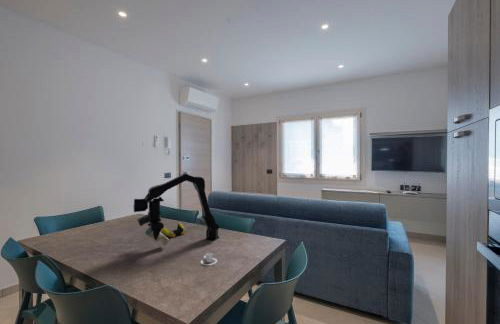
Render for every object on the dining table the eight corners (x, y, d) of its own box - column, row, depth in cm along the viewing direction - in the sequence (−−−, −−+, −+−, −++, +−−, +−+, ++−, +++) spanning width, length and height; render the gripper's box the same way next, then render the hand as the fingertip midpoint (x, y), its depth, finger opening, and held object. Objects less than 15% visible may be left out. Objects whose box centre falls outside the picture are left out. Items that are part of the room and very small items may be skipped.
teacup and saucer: (203, 258, 116) (203, 250, 116) (218, 258, 115) (218, 250, 115) (198, 266, 107) (198, 257, 107) (215, 266, 107) (215, 257, 107)
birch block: (167, 238, 132) (151, 225, 127) (169, 240, 128) (152, 227, 123) (162, 245, 130) (144, 232, 125) (163, 247, 126) (145, 234, 122)
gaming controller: (160, 236, 149) (168, 239, 142) (160, 227, 149) (167, 230, 142) (180, 230, 160) (188, 233, 153) (180, 222, 160) (188, 225, 153)
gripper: (136, 208, 130) (137, 235, 130) (140, 215, 114) (140, 246, 114) (157, 206, 135) (158, 232, 136) (163, 212, 119) (164, 242, 120)
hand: (155, 238), depth 126 cm, fingers closed on birch block, 4 cm apart
